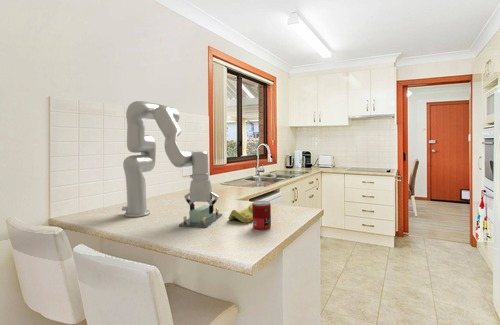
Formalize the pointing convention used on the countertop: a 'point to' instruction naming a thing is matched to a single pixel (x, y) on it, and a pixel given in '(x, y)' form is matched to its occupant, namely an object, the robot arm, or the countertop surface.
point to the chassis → (203, 224)
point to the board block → (199, 214)
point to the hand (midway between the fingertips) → (201, 213)
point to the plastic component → (243, 214)
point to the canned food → (261, 215)
